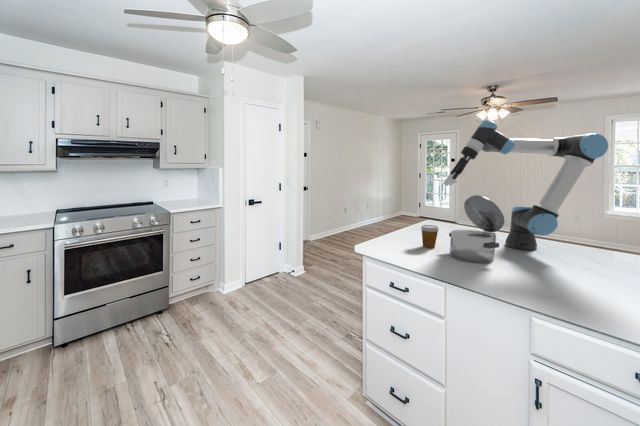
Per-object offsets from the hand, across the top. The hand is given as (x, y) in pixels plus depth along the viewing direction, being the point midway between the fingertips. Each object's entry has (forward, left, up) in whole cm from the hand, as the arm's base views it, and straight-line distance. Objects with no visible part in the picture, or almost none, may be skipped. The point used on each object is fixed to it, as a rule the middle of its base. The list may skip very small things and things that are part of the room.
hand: (446, 184), depth 158 cm
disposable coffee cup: (+3, -7, -36) cm, 37 cm away
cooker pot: (-5, +15, -36) cm, 39 cm away
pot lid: (-10, +15, -14) cm, 23 cm away
